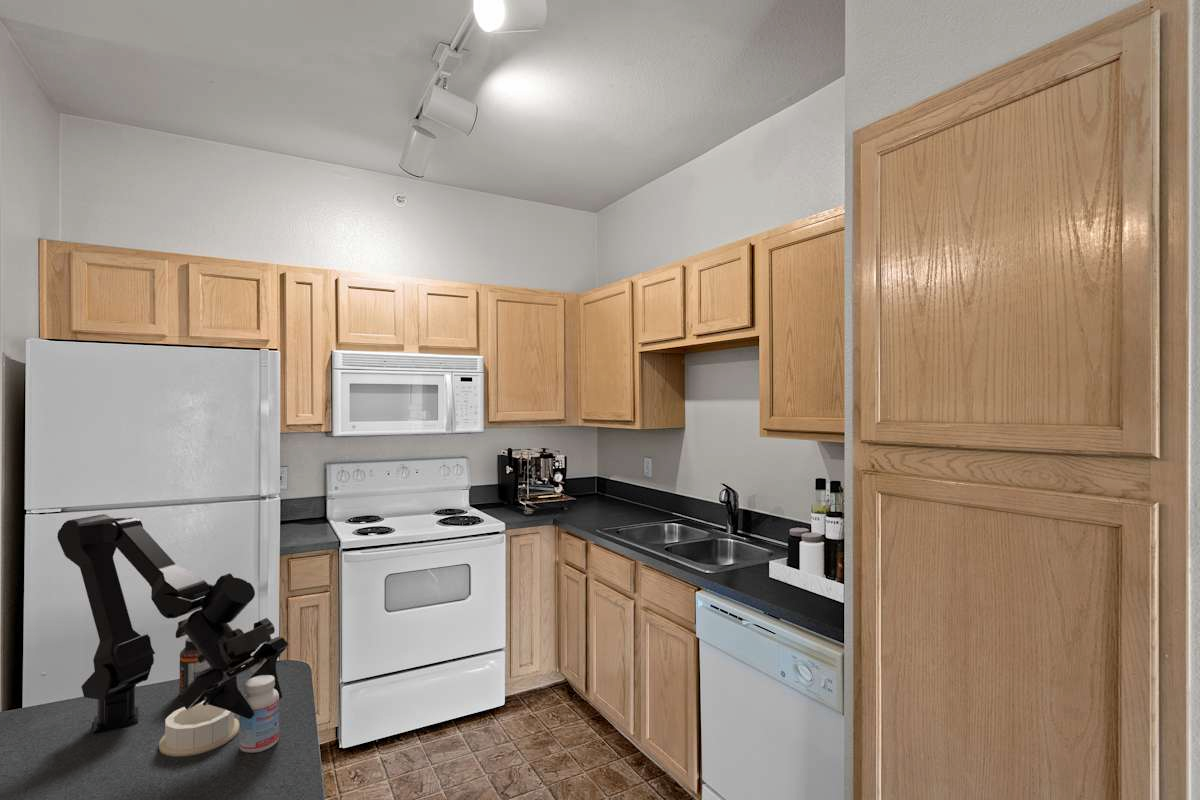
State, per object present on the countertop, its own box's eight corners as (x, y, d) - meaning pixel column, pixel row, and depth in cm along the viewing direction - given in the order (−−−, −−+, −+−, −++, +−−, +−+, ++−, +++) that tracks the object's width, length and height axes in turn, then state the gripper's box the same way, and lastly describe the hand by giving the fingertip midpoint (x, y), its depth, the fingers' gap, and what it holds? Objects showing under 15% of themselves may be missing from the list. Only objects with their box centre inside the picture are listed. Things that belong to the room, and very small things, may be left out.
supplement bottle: (177, 690, 126) (178, 636, 126) (211, 682, 130) (211, 629, 130) (181, 701, 122) (181, 645, 122) (215, 692, 126) (216, 637, 126)
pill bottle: (261, 756, 103) (262, 690, 103) (230, 752, 104) (231, 686, 104) (286, 737, 109) (287, 674, 109) (257, 733, 110) (257, 671, 110)
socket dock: (157, 733, 110) (158, 710, 110) (234, 713, 117) (234, 691, 117) (160, 765, 100) (160, 739, 100) (243, 740, 108) (244, 716, 108)
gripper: (195, 628, 99) (251, 704, 96) (280, 593, 117) (330, 657, 114) (156, 672, 100) (210, 748, 98) (246, 631, 119) (294, 694, 116)
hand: (266, 707), depth 106 cm, fingers closed on pill bottle, 6 cm apart
